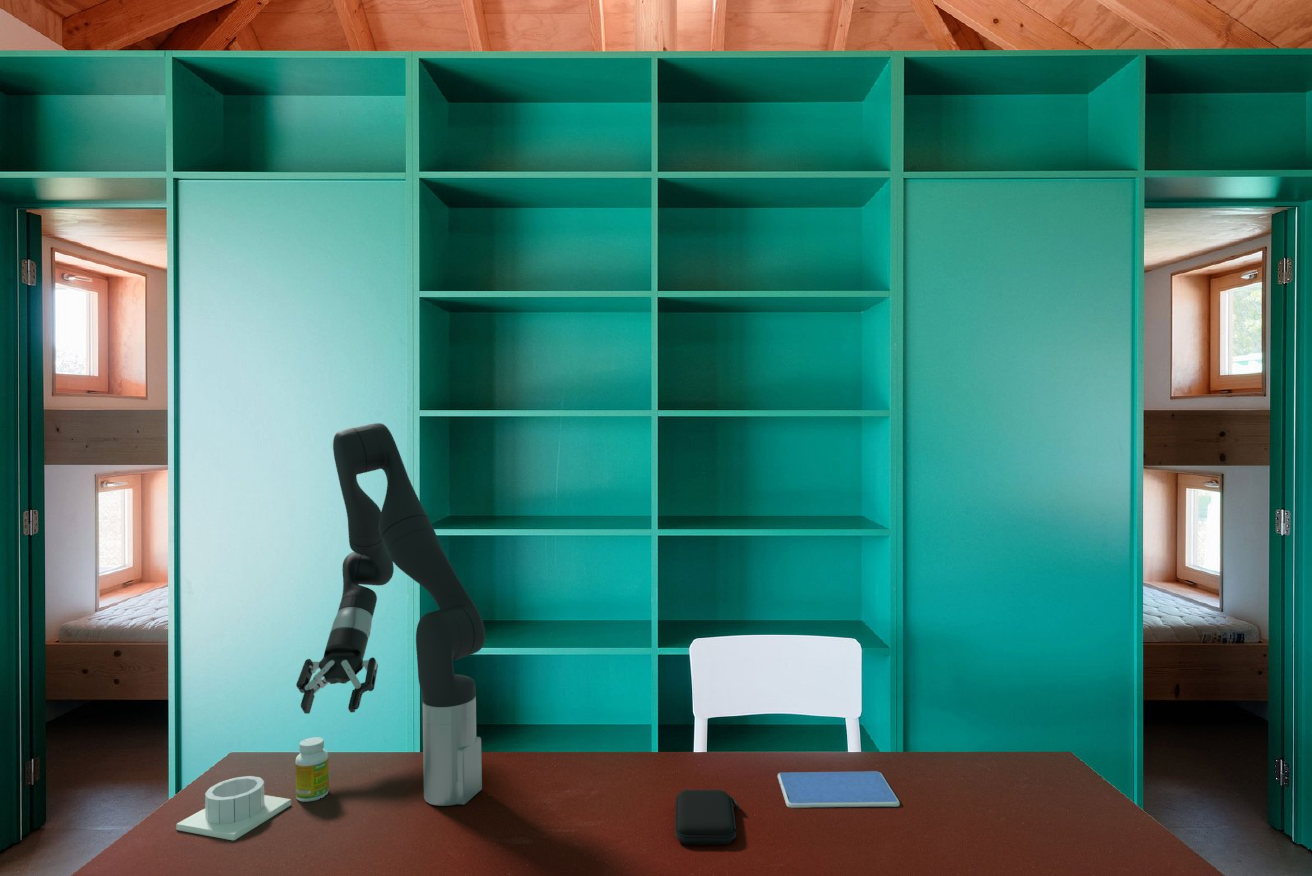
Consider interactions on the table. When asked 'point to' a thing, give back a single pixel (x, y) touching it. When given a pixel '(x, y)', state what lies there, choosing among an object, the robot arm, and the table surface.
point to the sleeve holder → (234, 809)
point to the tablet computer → (836, 789)
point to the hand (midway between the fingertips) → (328, 711)
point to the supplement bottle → (312, 770)
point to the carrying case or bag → (705, 817)
